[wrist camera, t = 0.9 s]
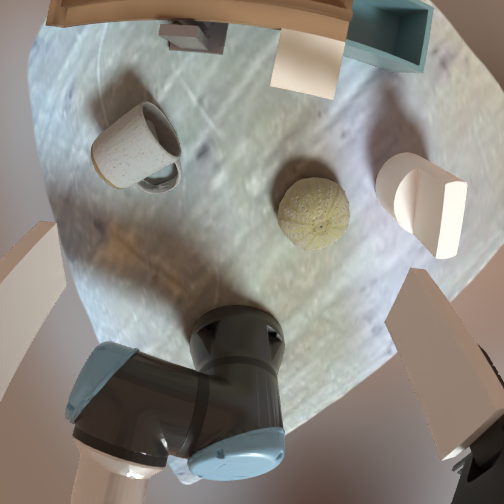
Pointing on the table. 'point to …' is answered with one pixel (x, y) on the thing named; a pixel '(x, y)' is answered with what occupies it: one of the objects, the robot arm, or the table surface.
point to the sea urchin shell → (314, 213)
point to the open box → (390, 34)
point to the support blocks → (195, 36)
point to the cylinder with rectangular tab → (423, 201)
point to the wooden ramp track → (245, 13)
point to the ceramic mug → (137, 150)
